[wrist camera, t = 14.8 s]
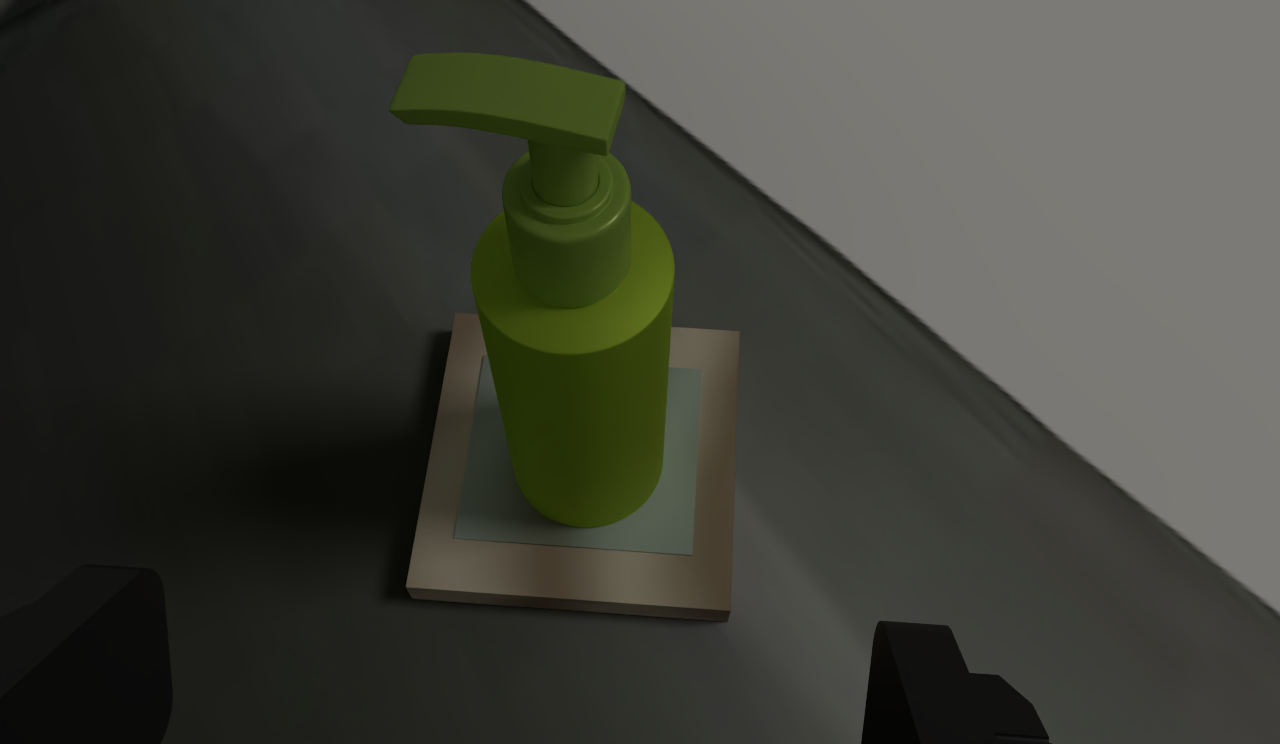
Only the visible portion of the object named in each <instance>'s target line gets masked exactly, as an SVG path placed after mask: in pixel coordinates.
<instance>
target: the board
mask: <svg viewBox="0 0 1280 744" xmlns="http://www.w3.org/2000/svg"><path fill="white" fill-rule="evenodd" d="M738 363H739V331H724V330H709V329H694V328H678V327H671V339H670V356H669V372H668V389H667V405H666V422H665V438H664V455H663V467H662V472H661V476H660V479H659V482H658V484H657V486H656V488H655V490H654V492H653V493H652V495H651V496H650V497H649V499H648V500H647V501H646V502H645V503H644V504H643V505H642V506H641V507H640V508H639V509H638V510H637V511H635V512H634V513H633V514H631V515H629V516H628V517H626V518H624V519H622V520H620V521H618V522H615V523H612V524H609V525H605V526H600V527H591V528H583V527H573V526H568V525H564V524H561V523H558V522H556V521H554V520H551V519H549V518H548V517H546V516H544V515H543V514H541V513H540V512H539V511H537V510H536V509H535V508H534V507H533V506H532V505H531V504H530V503H529V502H528V501H527V499H526V498H525V497H524V495H523V493H522V492H521V490H520V488H519V486H518V483H517V481H516V478H515V474H514V469H513V465H512V461H511V456H510V452H509V447H508V443H507V439H506V434H505V430H504V426H503V421H502V417H501V412H500V408H499V404H498V399H497V395H496V390H495V386H494V382H493V377H492V373H491V368H490V364H489V360H488V355H487V351H486V346H485V342H484V338H483V333H482V329H481V324H480V320H479V316H478V314H464V313H456V315H455V320H454V325H453V331H452V336H451V342H450V347H449V353H448V358H447V364H446V369H445V375H444V380H443V386H442V391H441V397H440V402H439V408H438V413H437V419H436V424H435V430H434V435H433V441H432V446H431V451H430V457H429V462H428V468H427V473H426V479H425V484H424V490H423V495H422V501H421V506H420V512H419V517H418V523H417V528H416V534H415V539H414V545H413V550H412V556H411V561H410V567H409V572H408V578H407V583H406V588H407V590H408V592H409V594H410V596H411V597H412V599H422V600H436V601H450V602H464V603H477V604H491V605H505V606H518V607H532V608H546V609H559V610H573V611H587V612H600V613H614V614H628V615H642V616H655V617H669V618H683V619H696V620H710V621H724V622H728V618H729V614H730V610H731V579H732V548H733V517H734V486H735V456H736V425H737V394H738Z"/></svg>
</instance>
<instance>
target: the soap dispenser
mask: <svg viewBox="0 0 1280 744" xmlns="http://www.w3.org/2000/svg"><path fill="white" fill-rule="evenodd" d="M624 100H625V82H624V81H620V80H616V79H612V78H608V77H604V76H599V75H595V74H591V73H587V72H583V71H578V70H574V69H570V68H565V67H561V66H556V65H552V64H547V63H542V62H537V61H532V60H526V59H520V58H514V57H507V56H499V55H490V54H477V53H430V54H418V55H414V56H412V58H411V59H410V61H409V64H408V66H407V68H406V70H405V72H404V75H403V77H402V79H401V81H400V83H399V86H398V88H397V90H396V93H395V95H394V97H393V100H392V102H391V104H390V106H389V111H390V112H391V113H392V114H393V115H395V116H396V117H397V118H399V119H400V120H402V121H403V122H404V123H406V124H417V125H443V126H455V127H463V128H470V129H477V130H482V131H488V132H493V133H498V134H503V135H508V136H513V137H518V138H522V139H527V140H528V147H529V151H528V152H526V153H525V154H523V155H522V156H521V157H520V158H519V159H517V160H516V161H515V163H514V164H513V165H512V166H511V168H510V169H509V171H508V173H507V175H506V177H505V180H504V183H503V190H502V200H503V207H504V210H503V211H502V212H501V213H500V214H499V215H498V216H497V217H495V218H494V219H493V221H492V222H491V223H490V224H489V225H488V226H487V228H486V229H485V230H484V232H483V233H482V235H481V237H480V239H479V241H478V243H477V245H476V248H475V250H474V254H473V257H472V263H471V284H472V289H473V294H474V298H475V303H476V307H477V311H478V316H479V320H480V324H481V329H482V333H483V338H484V342H485V346H486V351H487V355H488V360H489V364H490V368H491V373H492V377H493V382H494V386H495V390H496V395H497V399H498V404H499V408H500V412H501V417H502V421H503V426H504V430H505V434H506V439H507V443H508V447H509V452H510V456H511V461H512V465H513V469H514V474H515V478H516V481H517V483H518V486H519V488H520V490H521V492H522V493H523V495H524V497H525V498H526V499H527V501H528V502H529V503H530V504H531V505H532V506H533V507H534V508H535V509H536V510H537V511H539V512H540V513H541V514H543V515H544V516H546V517H548V518H549V519H551V520H554V521H556V522H558V523H561V524H564V525H568V526H573V527H583V528H591V527H600V526H605V525H609V524H612V523H615V522H618V521H620V520H622V519H624V518H626V517H628V516H629V515H631V514H633V513H634V512H635V511H637V510H638V509H639V508H640V507H641V506H642V505H643V504H644V503H645V502H646V501H647V500H648V499H649V497H650V496H651V495H652V493H653V492H654V490H655V488H656V486H657V484H658V482H659V479H660V476H661V472H662V467H663V455H664V438H665V422H666V405H667V389H668V372H669V356H670V339H671V323H672V306H673V290H674V272H675V268H674V257H673V252H672V249H671V246H670V243H669V241H668V238H667V236H666V235H665V233H664V231H663V230H662V228H661V227H660V225H659V224H658V223H657V221H656V220H655V219H654V218H653V217H652V216H651V215H650V214H649V213H648V212H647V211H645V210H644V209H643V208H641V207H640V206H639V205H637V204H636V203H634V202H632V201H631V186H630V181H629V178H628V175H627V173H626V170H625V169H624V167H623V166H622V164H621V163H620V162H619V161H618V160H617V159H616V158H615V157H614V156H613V155H612V154H611V153H609V150H610V146H611V143H612V140H613V137H614V133H615V130H616V127H617V123H618V120H619V117H620V114H621V110H622V107H623V104H624Z"/></svg>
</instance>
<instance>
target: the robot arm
mask: <svg viewBox="0 0 1280 744" xmlns="http://www.w3.org/2000/svg"><path fill="white" fill-rule="evenodd" d="M172 699H173V690H172V678H171V666H170V654H169V643H168V631H167V620H166V608H165V596H164V588H163V584H162V581H161V578H160V576H159V575H158V573H157V572H156V571H154V570H153V569H147V568H133V567H118V566H104V565H90V564H88V565H82V566H80V567H78V568H77V569H75V570H74V571H73V572H72V573H70V574H69V575H68V576H67V577H65V578H64V579H63V580H62V581H60V582H59V583H58V584H57V585H55V586H54V587H53V588H52V589H51V590H49V591H48V592H47V593H46V594H44V595H43V596H42V597H41V598H39V599H38V600H37V601H36V602H34V603H33V604H32V605H30V604H28V605H26V606H24V607H22V608H19V609H17V610H15V611H13V612H11V613H9V614H6V615H4V616H2V617H0V744H160V743H161V742H162V739H163V737H164V735H165V732H166V729H167V727H168V723H169V719H170V715H171V709H172ZM861 744H1051V743H1049V736H1048V734H1047V732H1046V730H1045V728H1044V726H1043V724H1042V722H1041V720H1040V718H1039V716H1038V714H1037V712H1036V710H1035V708H1034V706H1033V704H1031V703H1030V702H1029V701H1028V700H1027V699H1026V698H1024V697H1023V696H1022V695H1021V694H1020V693H1019V692H1018V691H1016V690H1015V689H1014V688H1013V687H1012V686H1011V685H1009V684H1008V683H1007V682H1006V681H1005V680H1004V679H1003V678H1001V677H1000V676H999V675H990V674H975V673H969V671H968V669H967V666H966V664H965V661H964V659H963V657H962V654H961V652H960V650H959V647H958V645H957V643H956V640H955V638H954V635H953V633H952V631H951V629H950V628H949V626H946V625H933V624H919V623H904V622H890V621H879V622H878V624H877V627H876V630H875V634H874V640H873V647H872V656H871V665H870V673H869V682H868V690H867V699H866V707H865V716H864V725H863V733H862V742H861Z"/></svg>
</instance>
